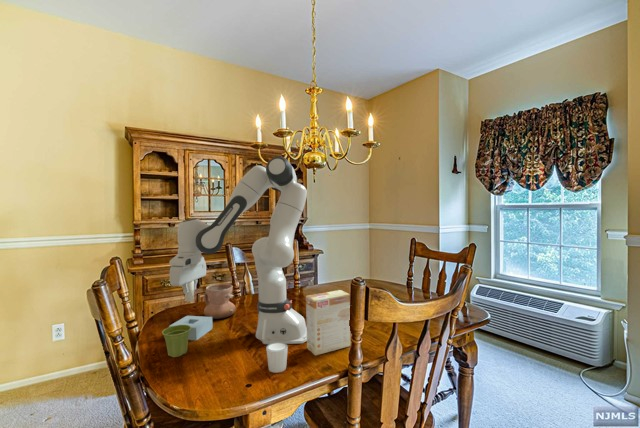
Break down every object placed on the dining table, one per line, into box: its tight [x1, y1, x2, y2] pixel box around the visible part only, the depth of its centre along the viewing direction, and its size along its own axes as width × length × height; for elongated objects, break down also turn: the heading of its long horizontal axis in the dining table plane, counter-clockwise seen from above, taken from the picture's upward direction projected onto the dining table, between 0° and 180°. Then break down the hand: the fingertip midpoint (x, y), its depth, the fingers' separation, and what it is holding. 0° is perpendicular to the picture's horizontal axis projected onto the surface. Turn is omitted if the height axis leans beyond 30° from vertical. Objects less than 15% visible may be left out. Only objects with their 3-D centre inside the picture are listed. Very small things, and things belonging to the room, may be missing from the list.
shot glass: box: [266, 342, 289, 374], centre depth 101 cm, size 7×7×7 cm
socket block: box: [168, 315, 214, 341], centre depth 129 cm, size 12×12×5 cm
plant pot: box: [161, 325, 191, 358], centre depth 112 cm, size 9×9×9 cm
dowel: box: [184, 280, 195, 303], centre depth 129 cm, size 3×3×10 cm
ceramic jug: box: [203, 283, 237, 320], centre depth 150 cm, size 18×14×14 cm
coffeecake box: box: [305, 289, 352, 356], centre depth 115 cm, size 15×7×20 cm, turn 118°
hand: (189, 291), depth 129 cm, fingers closed on dowel, 3 cm apart
